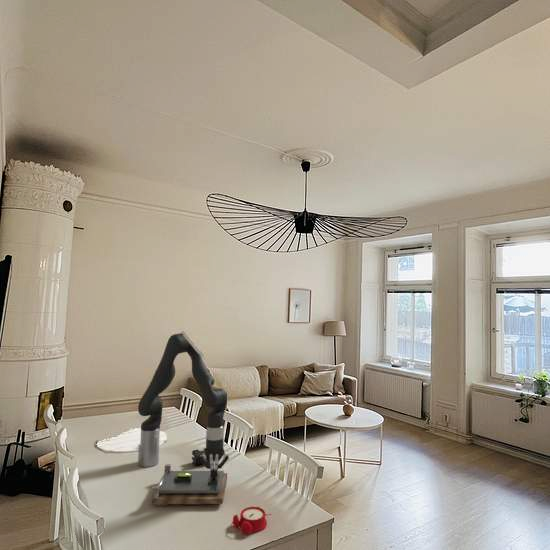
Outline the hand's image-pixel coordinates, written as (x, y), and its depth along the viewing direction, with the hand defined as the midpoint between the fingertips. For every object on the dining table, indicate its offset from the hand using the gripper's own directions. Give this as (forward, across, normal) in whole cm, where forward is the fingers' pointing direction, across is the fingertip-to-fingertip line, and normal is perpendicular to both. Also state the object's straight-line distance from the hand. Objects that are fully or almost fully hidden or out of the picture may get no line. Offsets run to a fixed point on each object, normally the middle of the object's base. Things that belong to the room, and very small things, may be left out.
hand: (214, 478), depth 162 cm
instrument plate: (+2, -10, 0) cm, 10 cm away
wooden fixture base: (+6, -9, 0) cm, 11 cm away
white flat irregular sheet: (+6, -55, +64) cm, 85 cm away
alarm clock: (+7, +16, -24) cm, 30 cm away
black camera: (+6, -9, +31) cm, 33 cm away
